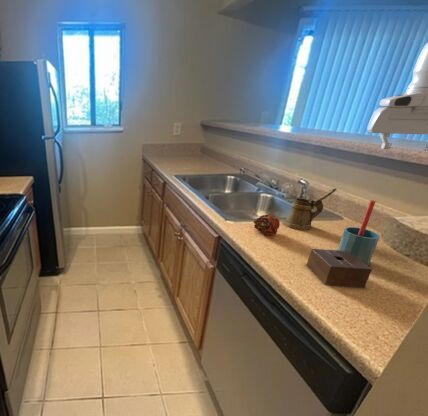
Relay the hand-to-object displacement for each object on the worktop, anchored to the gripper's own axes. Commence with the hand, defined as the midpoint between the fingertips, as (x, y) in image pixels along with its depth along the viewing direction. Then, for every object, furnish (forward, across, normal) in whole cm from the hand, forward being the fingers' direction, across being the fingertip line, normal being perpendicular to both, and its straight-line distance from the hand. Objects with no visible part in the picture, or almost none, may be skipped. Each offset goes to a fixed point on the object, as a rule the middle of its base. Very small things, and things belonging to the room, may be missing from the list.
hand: (406, 149), depth 81 cm
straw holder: (+35, +14, +20) cm, 43 cm away
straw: (+34, +6, +7) cm, 36 cm away
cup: (+35, +6, +7) cm, 36 cm away
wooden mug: (+35, +15, -17) cm, 42 cm away
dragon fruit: (+35, +30, -5) cm, 47 cm away
